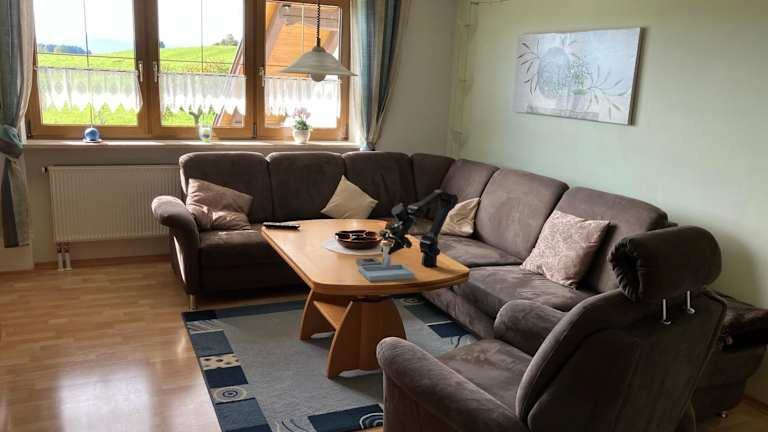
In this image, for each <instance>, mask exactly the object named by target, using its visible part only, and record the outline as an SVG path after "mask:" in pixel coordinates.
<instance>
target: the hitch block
mask: <svg viewBox="0 0 768 432" xmlns="http://www.w3.org/2000/svg"><path fill="white" fill-rule="evenodd" d="M355 263H356V265H357V266H358V267H359V266H374V265H382V264H383V261H380V259H378V258H376V257H359V258H358V257H357V258H356V259H355Z"/></svg>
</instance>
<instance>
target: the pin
mask: <svg viewBox="0 0 768 432" xmlns="http://www.w3.org/2000/svg"><path fill="white" fill-rule="evenodd" d="M381 244H382V246H383V253H382V266H383V267H386V268H389V267H391V264H392V254H390V255H388V252H389V250H390V249H391V247H392V246H393V244H394V240H384V239H382V240H381Z"/></svg>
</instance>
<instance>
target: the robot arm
mask: <svg viewBox="0 0 768 432" xmlns="http://www.w3.org/2000/svg"><path fill="white" fill-rule="evenodd" d="M438 202H439V209H438V211H437V214H436V216H435V218H434V220H433V222H432V225H431V226H430V228H429V231H428V233H427V234H422V235H421V237H420V238H421V239H420V240H419V244H418V245H419V249H420V253H421V254H422V257H421V266H423V267H424V268H426V269H427V268H437V267H439V266H438V265H437V261H438V256H440V254H441V249H440V248H439V247H438V245H439V240H438V238H439V235H440V232H441V230H442V228H443V227H444V224H445V223H446V220H447V218H448V216H449V213H450V212H451V211H453V210H454V209H455V207H456V206H457V204H458V202H459V198H458V195H457V194H455V193H450V192H446V191H445V190H444V189H443V190H442V189H435V190H434V191H433V192H432V193H431V194H429V195H428V196H426V197H424V198H423V199H422V200H420V201H418V202H414V203H411V204H409V205H408V206H407V207H406V205H405V204H404V203H401V202H400V203H399V204H397V205H395V206H394V207H393V208H392V209H391V213H392V215H393V216H394V217H395V219H396V220H397V221H398V223H395V224H392V223H389V222H386V224H385V227H384V229H380V231H379V232H378V234H379V236H380V237H381V239H382V240H393V241H394V244H392V247H391V249H390V250H389V252H388V255H390V254H391V255H392V254H394V253H397V252H398V251H400V250H402V249H405V248H406V249H409V250H410V249H411V248H412V246H413V242H412V241H411V240H410V239H409V238H408V236H409V235H410V233H409V231H410V230H411V229H412V227H413V226H414V227H417V226H418V223H417V219H420V218H423V216H424V215H425V214H426V211H427V210H428V209H429V208H430V207H432V206H433V205H435V204H436V203H438ZM414 218H415V219H414ZM380 252H381V253H382V254H383V245H382V246H381V249H380Z"/></svg>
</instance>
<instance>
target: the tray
mask: <svg viewBox="0 0 768 432" xmlns="http://www.w3.org/2000/svg"><path fill="white" fill-rule="evenodd" d="M358 273H359V274H361V276H363V277H364V279H366V280H367V281H368V282H369V283H370V282H382V281H383V282H385V281H401V280H414V279H415V277H416V276H415V275H416V274H415V272H414V271H412V270H411V269H410V268H408V267H407V266H406V265H405V264H403V263H395V264H394V263H393V264H392V263H391V267H389V268H386V267H383V266H382V265H374V266H358Z"/></svg>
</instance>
